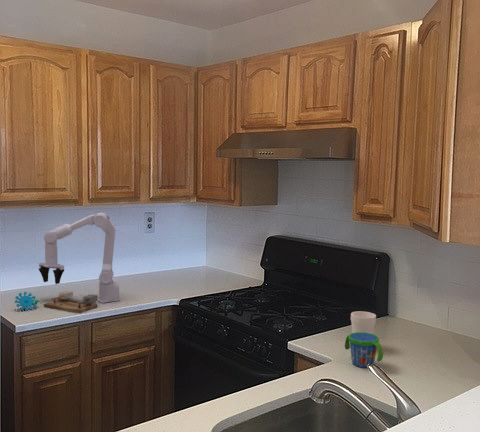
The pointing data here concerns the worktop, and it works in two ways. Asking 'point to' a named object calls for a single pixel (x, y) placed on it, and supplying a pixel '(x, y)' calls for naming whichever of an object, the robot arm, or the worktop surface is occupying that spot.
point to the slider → (64, 295)
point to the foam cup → (363, 322)
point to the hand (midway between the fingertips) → (51, 282)
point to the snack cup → (363, 348)
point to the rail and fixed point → (86, 300)
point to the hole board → (69, 306)
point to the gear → (26, 301)
